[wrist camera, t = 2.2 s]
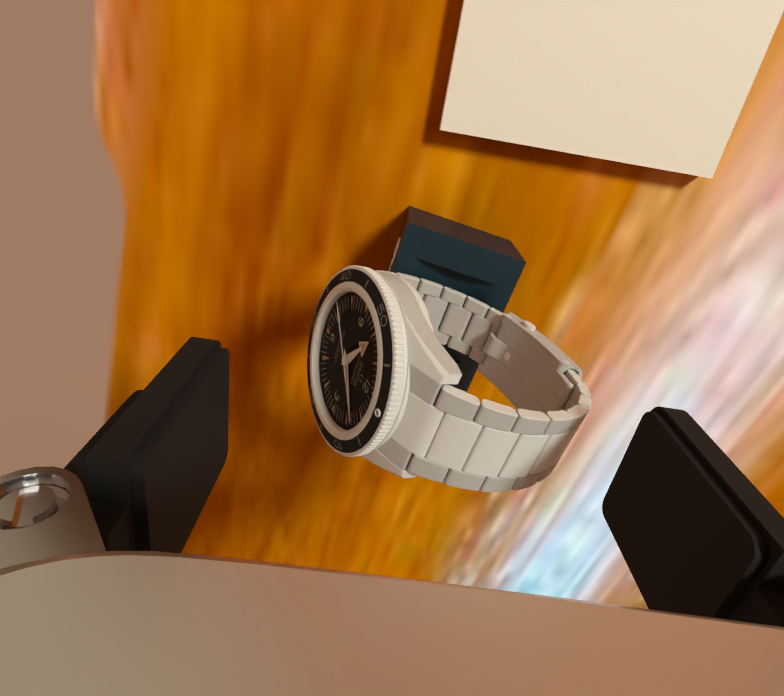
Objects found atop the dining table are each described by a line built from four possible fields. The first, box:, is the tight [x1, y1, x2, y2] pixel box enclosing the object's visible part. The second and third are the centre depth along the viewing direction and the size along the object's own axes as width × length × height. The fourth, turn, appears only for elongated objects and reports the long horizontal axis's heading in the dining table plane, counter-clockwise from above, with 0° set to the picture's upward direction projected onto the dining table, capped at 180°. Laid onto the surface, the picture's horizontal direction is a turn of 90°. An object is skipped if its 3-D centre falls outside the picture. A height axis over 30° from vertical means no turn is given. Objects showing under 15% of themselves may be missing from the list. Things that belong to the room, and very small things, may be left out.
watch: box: [307, 206, 591, 492], centre depth 16 cm, size 6×8×11 cm
